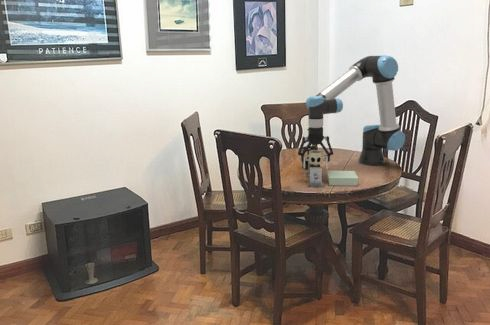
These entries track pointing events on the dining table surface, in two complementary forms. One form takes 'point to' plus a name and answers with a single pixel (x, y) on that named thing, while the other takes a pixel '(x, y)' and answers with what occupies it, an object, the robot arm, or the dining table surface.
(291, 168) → the dining table surface
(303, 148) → the french press
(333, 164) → the dining table surface
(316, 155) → the character mug
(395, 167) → the dining table surface
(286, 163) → the dining table surface
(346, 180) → the stand
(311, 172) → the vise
